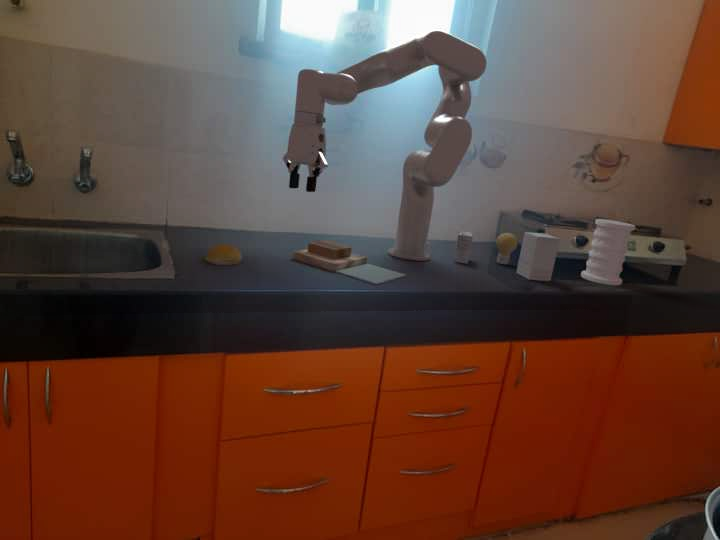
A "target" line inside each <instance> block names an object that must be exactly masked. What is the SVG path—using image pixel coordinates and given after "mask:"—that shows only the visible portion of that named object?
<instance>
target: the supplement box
mask: <svg viewBox="0 0 720 540" xmlns="http://www.w3.org/2000/svg"><path fill="white" fill-rule="evenodd" d="M560 240H561V239H560V238H558V237H556V236H552V235H551V234H547V233H543V232H542V233H541V232H530V231H528V232H526V231H524V234H523V239H522V244H521V248H520V253H519V259H518V262H517V267H516V271H515V272H516V274H517V275H519V276H522V277H523V278H525V279H527V280H528V281H529V280H532V281H543V282H551V281H552V275H553V272H554V267H555V262H556V258H557V253H558V250H559V249H558V248H559V245H560Z"/></svg>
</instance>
